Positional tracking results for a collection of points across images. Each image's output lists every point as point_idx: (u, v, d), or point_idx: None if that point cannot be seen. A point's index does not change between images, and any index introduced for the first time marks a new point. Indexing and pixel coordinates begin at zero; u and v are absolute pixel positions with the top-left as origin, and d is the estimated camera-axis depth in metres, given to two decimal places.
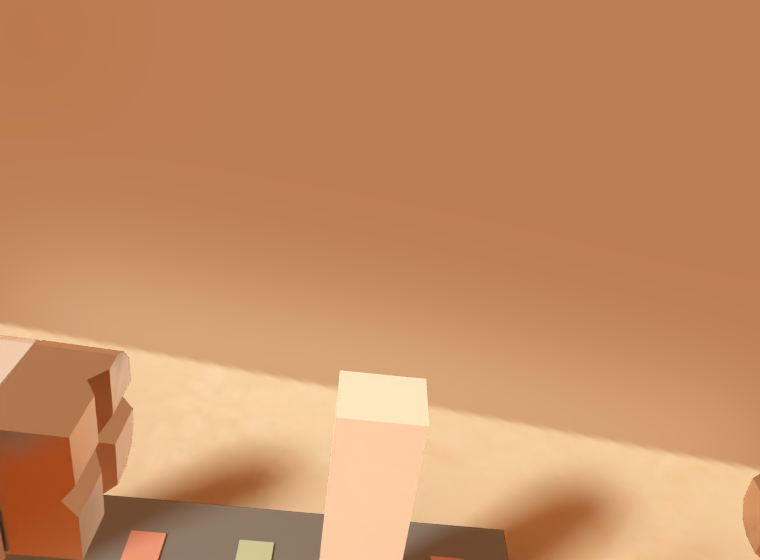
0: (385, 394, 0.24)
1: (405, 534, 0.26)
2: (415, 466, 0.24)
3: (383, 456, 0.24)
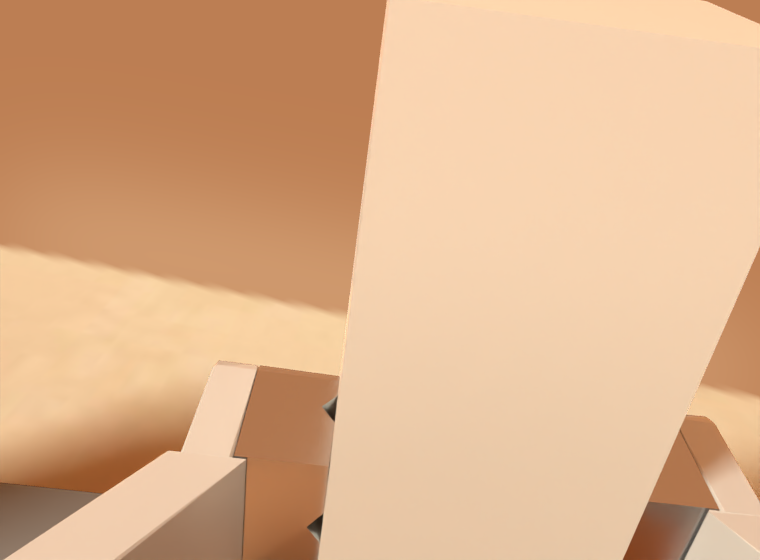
0: None
1: None
2: (716, 289, 0.06)
3: (587, 234, 0.05)
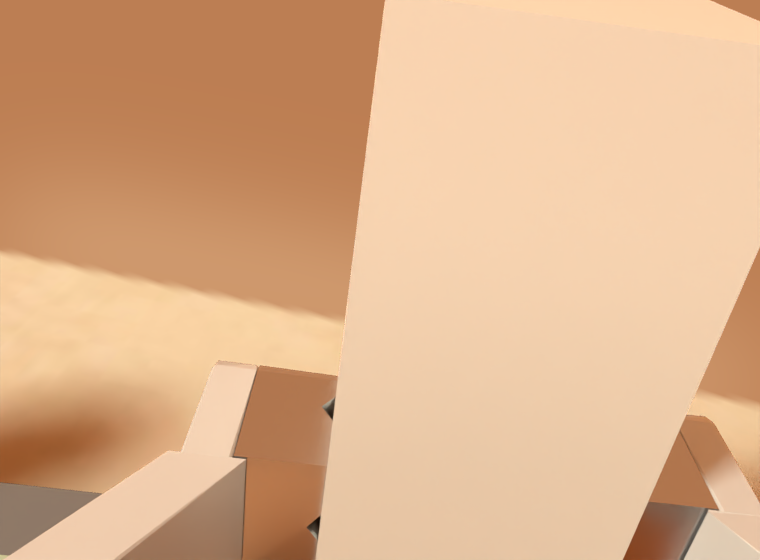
0: None
1: None
2: (716, 289, 0.06)
3: (586, 235, 0.05)
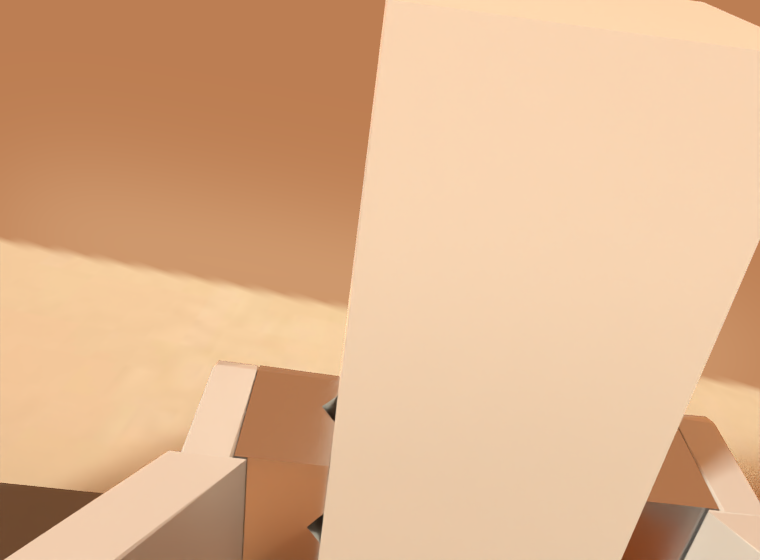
0: None
1: None
2: (713, 289, 0.06)
3: (584, 236, 0.05)
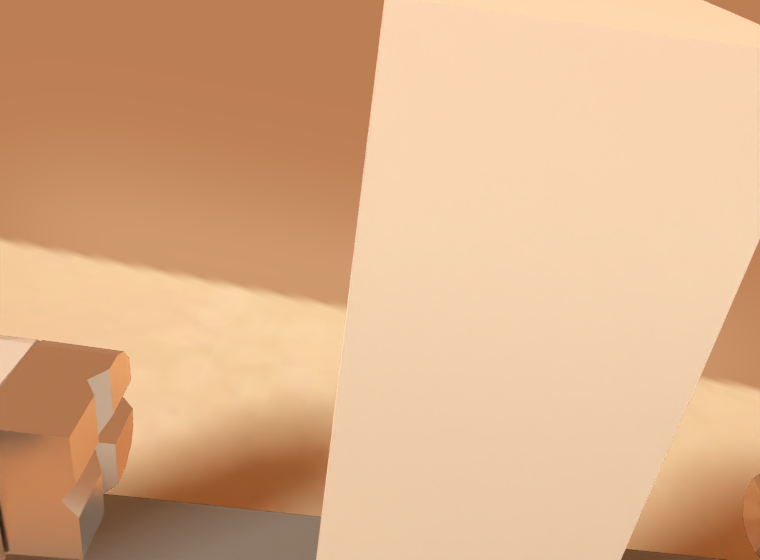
0: None
1: None
2: (713, 288, 0.06)
3: (584, 234, 0.05)
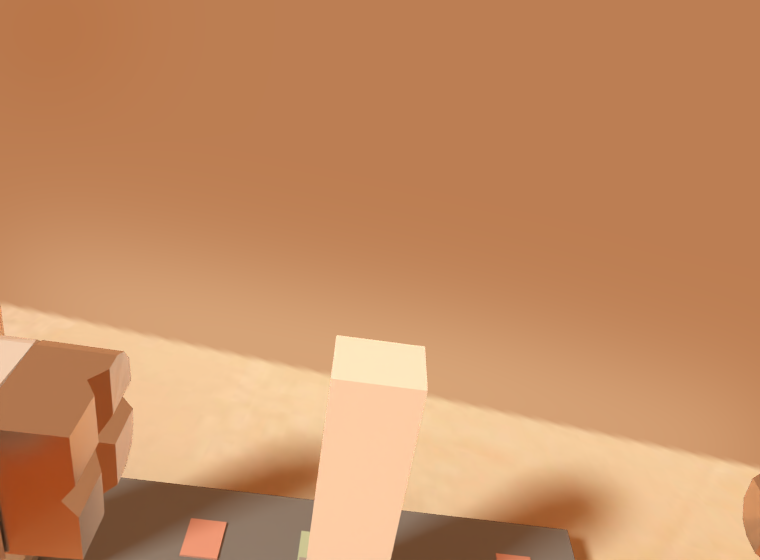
0: (382, 359, 0.23)
1: (399, 509, 0.25)
2: (412, 434, 0.23)
3: (379, 422, 0.23)
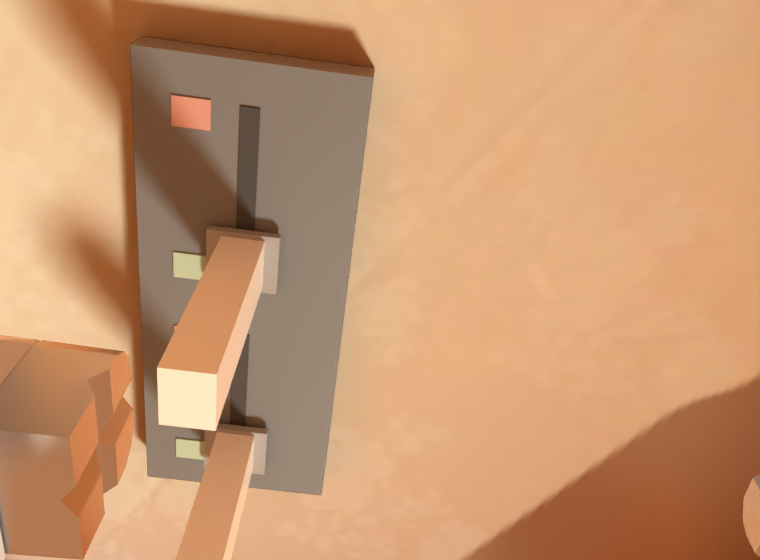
0: (183, 398, 0.30)
1: (241, 308, 0.34)
2: (226, 352, 0.31)
3: (223, 377, 0.31)
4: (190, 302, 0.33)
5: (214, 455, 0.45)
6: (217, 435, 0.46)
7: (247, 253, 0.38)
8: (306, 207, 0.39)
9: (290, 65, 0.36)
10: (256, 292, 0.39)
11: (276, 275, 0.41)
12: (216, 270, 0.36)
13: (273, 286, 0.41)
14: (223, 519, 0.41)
